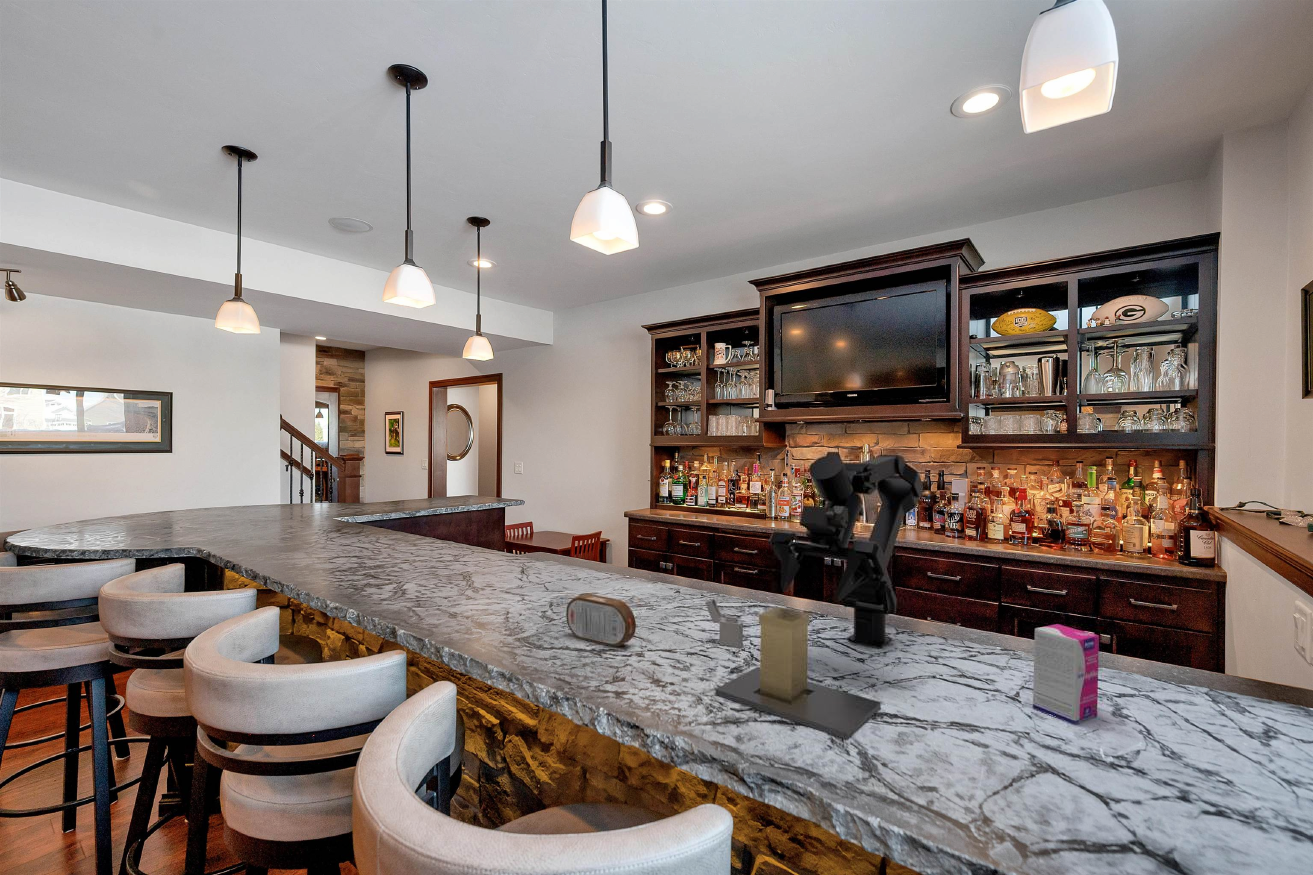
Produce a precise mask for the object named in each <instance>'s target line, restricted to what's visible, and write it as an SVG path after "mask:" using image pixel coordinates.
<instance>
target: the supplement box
mask: <svg viewBox="0 0 1313 875" xmlns="http://www.w3.org/2000/svg"><path fill="white" fill-rule="evenodd" d="M1099 647H1100V636H1099V635H1098V634H1095V633H1092V632H1088V631H1084V630H1079V629H1075V628H1073V627H1069V626H1067V625H1066V626H1065V625H1062V624H1059V623H1056V624H1052V625H1046V626H1042V627H1041V626H1040V627H1036V628H1034V647H1033V648H1034V649H1033V650H1034V651H1033V685H1032V686H1033V688H1032V706H1031V708H1032V709H1033V708H1034V710H1036V711H1038V710H1040V711H1039V712H1041V711H1042V712H1041V713H1043V712H1045V713H1044V714H1046V713H1048V714H1047V715H1049V714H1051V715H1053V716H1052V717H1054V716H1056V717H1058V718H1057V719H1059V718H1060V719H1059V720H1061V719H1063V720H1062V721H1064V720H1065V721H1064V722H1066V721H1067V723H1070V724H1073V725H1077V724H1078V723H1081V722H1084V721H1086V720H1089V719H1093V718H1096V717H1098V700H1099V699H1098V698H1099V696H1098V695H1099V693H1098V692H1099V691H1098V690H1099V661H1100V660H1099V656H1100V654H1099V653H1100V652H1099V651H1100V650H1099V649H1100V648H1099ZM1051 715H1050V716H1051ZM1056 717H1055V718H1056Z"/></svg>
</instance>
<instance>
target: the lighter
mask: <svg viewBox="0 0 1313 875" xmlns="http://www.w3.org/2000/svg"><path fill="white" fill-rule="evenodd" d="M705 606H706V608H707V612H708V614H709V617H710V618H711V621H712V623H713V624H715V623H718V622H719V627H718V628H719V637H718V638H719V639H718V641H719V645H720V646H721V645H722V646H727V647H732V648H737V649H741V648H742V647H744V646H743V645H744V640H743V639H744V622H743V621H739V618H738V617H737V616H736V615H725V619H724V618H723V616H722V614H721V611H720V608H719V607H718V604H717V601H716V599H715V598H710V599H708V600H705Z"/></svg>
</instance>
